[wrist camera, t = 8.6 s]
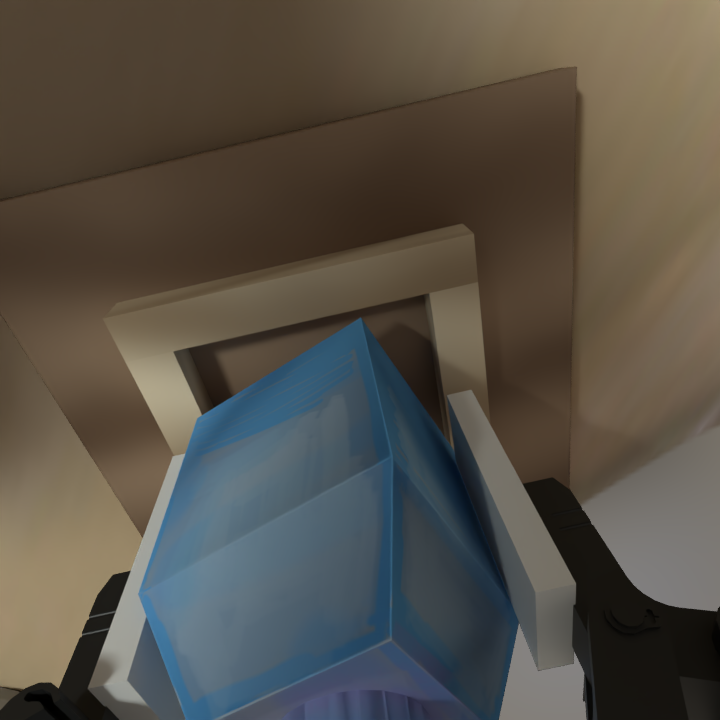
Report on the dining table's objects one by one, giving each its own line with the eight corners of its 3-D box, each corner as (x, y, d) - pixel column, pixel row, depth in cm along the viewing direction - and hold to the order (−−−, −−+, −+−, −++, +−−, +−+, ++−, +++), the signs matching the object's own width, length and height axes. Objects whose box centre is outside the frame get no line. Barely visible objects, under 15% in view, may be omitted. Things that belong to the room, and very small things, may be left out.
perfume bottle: (309, 526, 18) (311, 1106, 8) (197, 418, 15) (-33, 1100, 5) (453, 449, 17) (680, 1012, 7) (361, 317, 14) (503, 936, 4)
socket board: (-39, 209, 14) (-93, 227, 12) (560, 68, 14) (599, 64, 12) (189, 584, 23) (178, 629, 21) (558, 504, 23) (581, 542, 21)
